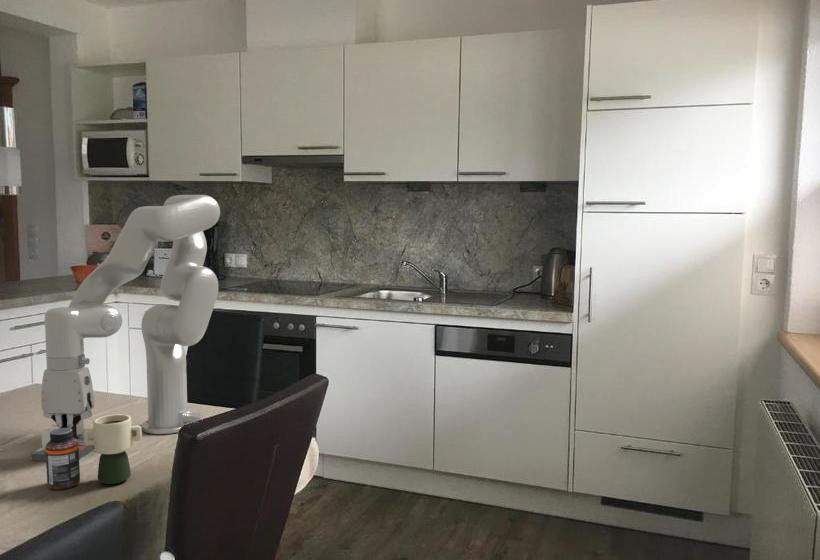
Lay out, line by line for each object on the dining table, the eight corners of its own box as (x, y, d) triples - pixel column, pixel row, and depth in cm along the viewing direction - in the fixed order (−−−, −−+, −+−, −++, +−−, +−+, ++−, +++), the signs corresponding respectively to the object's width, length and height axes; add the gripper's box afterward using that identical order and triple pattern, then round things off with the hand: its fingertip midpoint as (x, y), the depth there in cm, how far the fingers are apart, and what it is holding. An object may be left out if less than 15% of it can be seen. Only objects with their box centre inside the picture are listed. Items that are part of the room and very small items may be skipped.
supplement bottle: (55, 479, 139) (52, 426, 138) (85, 479, 140) (82, 425, 139) (41, 491, 134) (39, 435, 132) (73, 490, 134) (70, 435, 133)
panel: (111, 438, 165) (111, 431, 165) (74, 461, 150) (74, 454, 149) (72, 436, 166) (72, 430, 166) (31, 460, 150) (31, 453, 150)
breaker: (83, 431, 164) (83, 415, 163) (75, 436, 160) (75, 419, 160) (71, 431, 164) (71, 415, 164) (63, 435, 161) (63, 419, 160)
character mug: (144, 471, 144) (142, 411, 143) (141, 484, 137) (139, 421, 136) (87, 477, 141) (85, 416, 140) (82, 490, 134) (80, 426, 133)
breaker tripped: (63, 444, 155) (63, 427, 155) (55, 449, 152) (54, 431, 151) (51, 443, 155) (50, 426, 155) (42, 448, 152) (41, 431, 151)
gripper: (106, 360, 154) (109, 438, 156) (43, 358, 155) (46, 436, 157) (89, 367, 147) (92, 449, 149) (22, 365, 148) (26, 447, 150)
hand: (68, 442), depth 153 cm, fingers closed
